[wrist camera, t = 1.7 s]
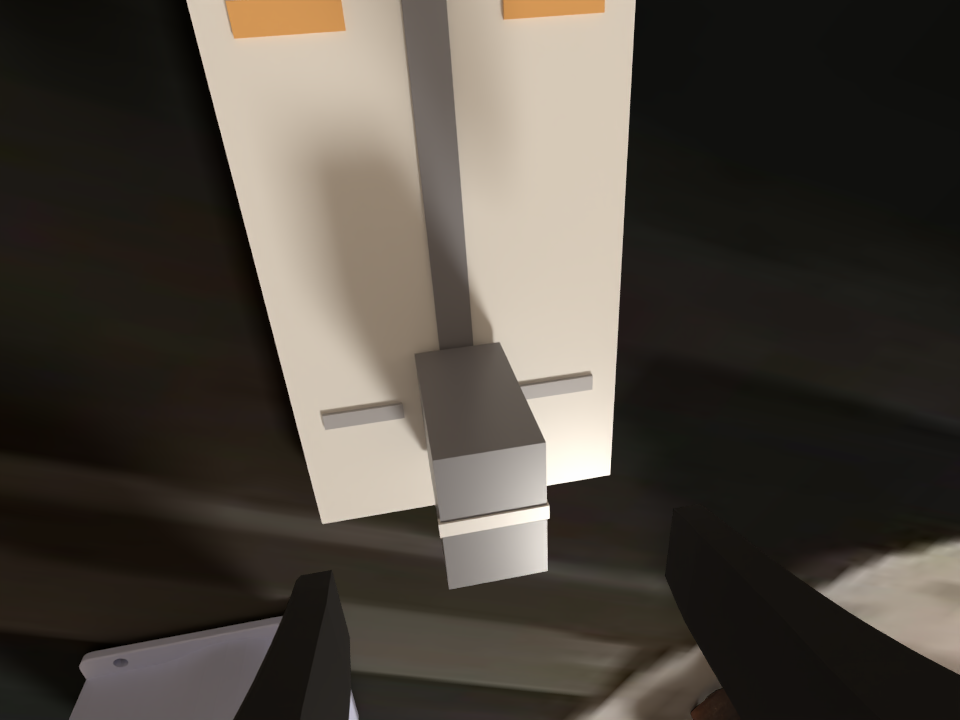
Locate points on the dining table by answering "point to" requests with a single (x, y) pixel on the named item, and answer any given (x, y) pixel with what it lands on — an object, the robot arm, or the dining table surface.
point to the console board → (428, 214)
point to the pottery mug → (716, 708)
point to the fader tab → (483, 465)
